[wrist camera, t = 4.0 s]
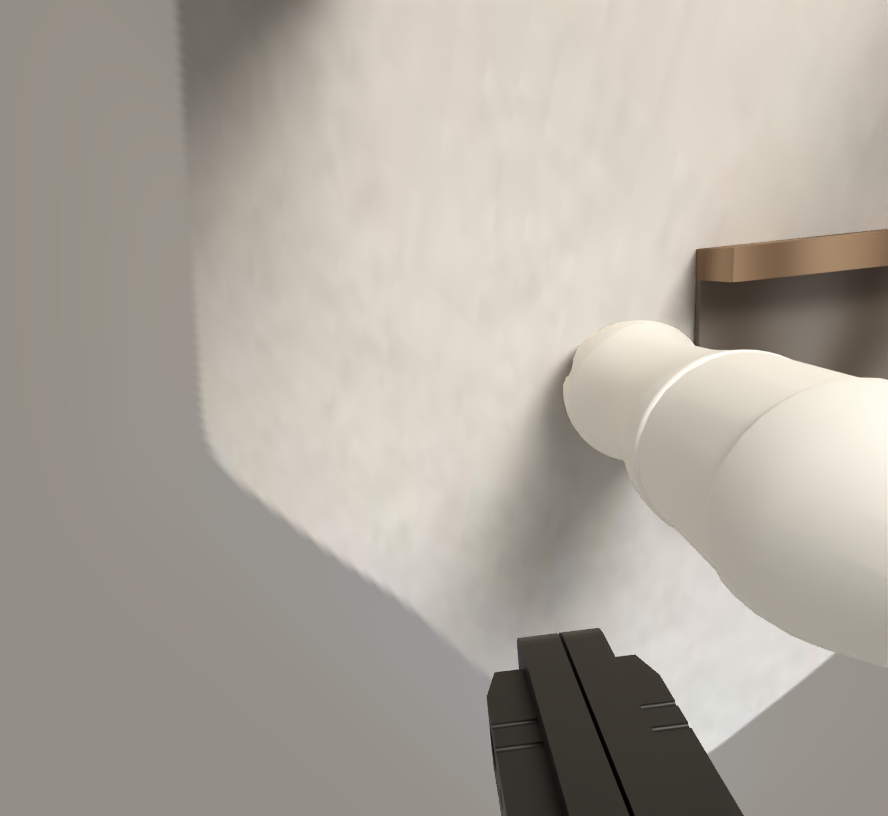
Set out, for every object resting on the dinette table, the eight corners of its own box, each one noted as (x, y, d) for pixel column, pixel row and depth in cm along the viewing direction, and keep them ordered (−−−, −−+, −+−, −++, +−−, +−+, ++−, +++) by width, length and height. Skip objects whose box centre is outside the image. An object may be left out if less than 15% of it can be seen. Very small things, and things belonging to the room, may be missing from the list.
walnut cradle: (691, 478, 32) (724, 504, 29) (696, 249, 29) (734, 247, 25) (967, 446, 33) (1031, 467, 29) (1005, 216, 29) (1082, 210, 26)
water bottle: (595, 463, 32) (1172, 1101, 8) (527, 366, 30) (998, 798, 6) (700, 391, 31) (1716, 850, 7) (636, 288, 29) (1698, 414, 5)
